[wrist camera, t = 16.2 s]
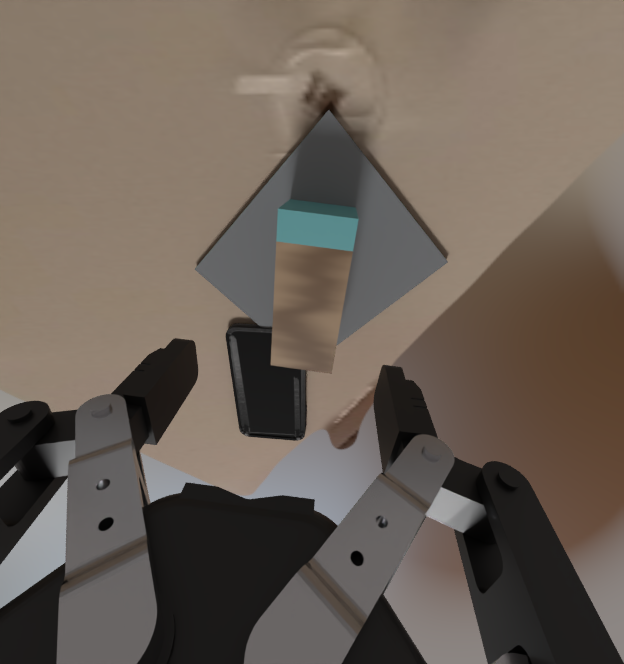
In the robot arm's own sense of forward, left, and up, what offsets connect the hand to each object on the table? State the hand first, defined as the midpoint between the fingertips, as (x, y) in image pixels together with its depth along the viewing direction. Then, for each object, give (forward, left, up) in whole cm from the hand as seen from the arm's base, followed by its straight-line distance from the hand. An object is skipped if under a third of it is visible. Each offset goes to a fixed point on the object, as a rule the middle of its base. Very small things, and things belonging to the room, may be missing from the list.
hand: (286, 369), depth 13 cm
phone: (+6, -13, -15) cm, 21 cm away
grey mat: (0, 0, -15) cm, 15 cm away
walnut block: (+5, -5, -12) cm, 14 cm away
